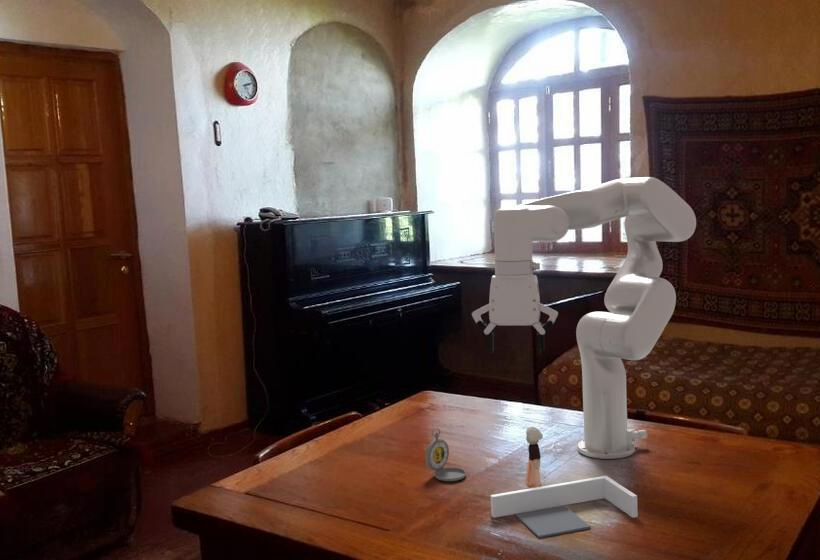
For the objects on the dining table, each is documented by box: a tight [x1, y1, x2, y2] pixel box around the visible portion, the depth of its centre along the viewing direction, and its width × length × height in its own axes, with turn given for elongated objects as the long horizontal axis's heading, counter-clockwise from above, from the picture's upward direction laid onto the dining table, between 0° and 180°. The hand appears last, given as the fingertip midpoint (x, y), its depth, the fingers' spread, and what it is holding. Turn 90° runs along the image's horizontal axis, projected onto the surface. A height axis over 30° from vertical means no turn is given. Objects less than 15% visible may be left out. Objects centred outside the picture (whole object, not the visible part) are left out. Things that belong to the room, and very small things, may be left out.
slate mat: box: [515, 505, 592, 539], centre depth 145 cm, size 10×10×1 cm
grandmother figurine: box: [524, 426, 543, 489], centre depth 161 cm, size 8×4×13 cm, turn 5°
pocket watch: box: [424, 427, 467, 482], centre depth 171 cm, size 8×8×10 cm
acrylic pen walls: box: [490, 475, 639, 519], centre depth 147 cm, size 24×11×4 cm, turn 106°
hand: (515, 352), depth 163 cm, fingers open, 9 cm apart
